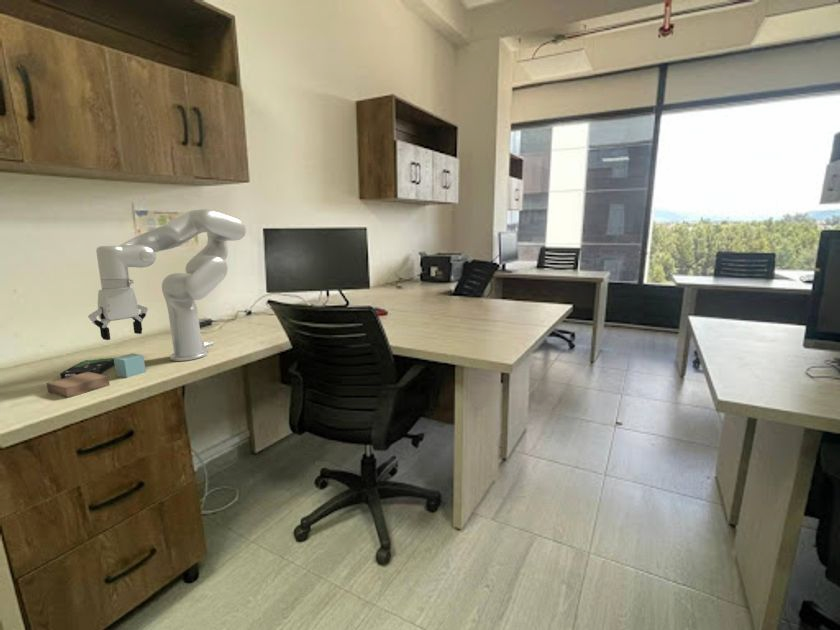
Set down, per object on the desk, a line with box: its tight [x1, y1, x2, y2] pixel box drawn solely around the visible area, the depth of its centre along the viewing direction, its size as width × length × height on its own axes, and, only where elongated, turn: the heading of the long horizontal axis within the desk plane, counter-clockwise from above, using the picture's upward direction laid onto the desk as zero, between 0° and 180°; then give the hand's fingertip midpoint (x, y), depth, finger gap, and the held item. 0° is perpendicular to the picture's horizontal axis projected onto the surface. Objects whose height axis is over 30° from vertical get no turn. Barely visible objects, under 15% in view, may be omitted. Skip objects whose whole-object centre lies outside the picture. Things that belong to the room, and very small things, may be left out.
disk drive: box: [59, 357, 115, 379], centre depth 143 cm, size 10×3×15 cm
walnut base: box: [46, 372, 110, 399], centre depth 126 cm, size 11×11×3 cm
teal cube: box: [113, 353, 147, 378], centre depth 139 cm, size 6×6×6 cm
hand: (122, 336), depth 136 cm, fingers open, 9 cm apart
